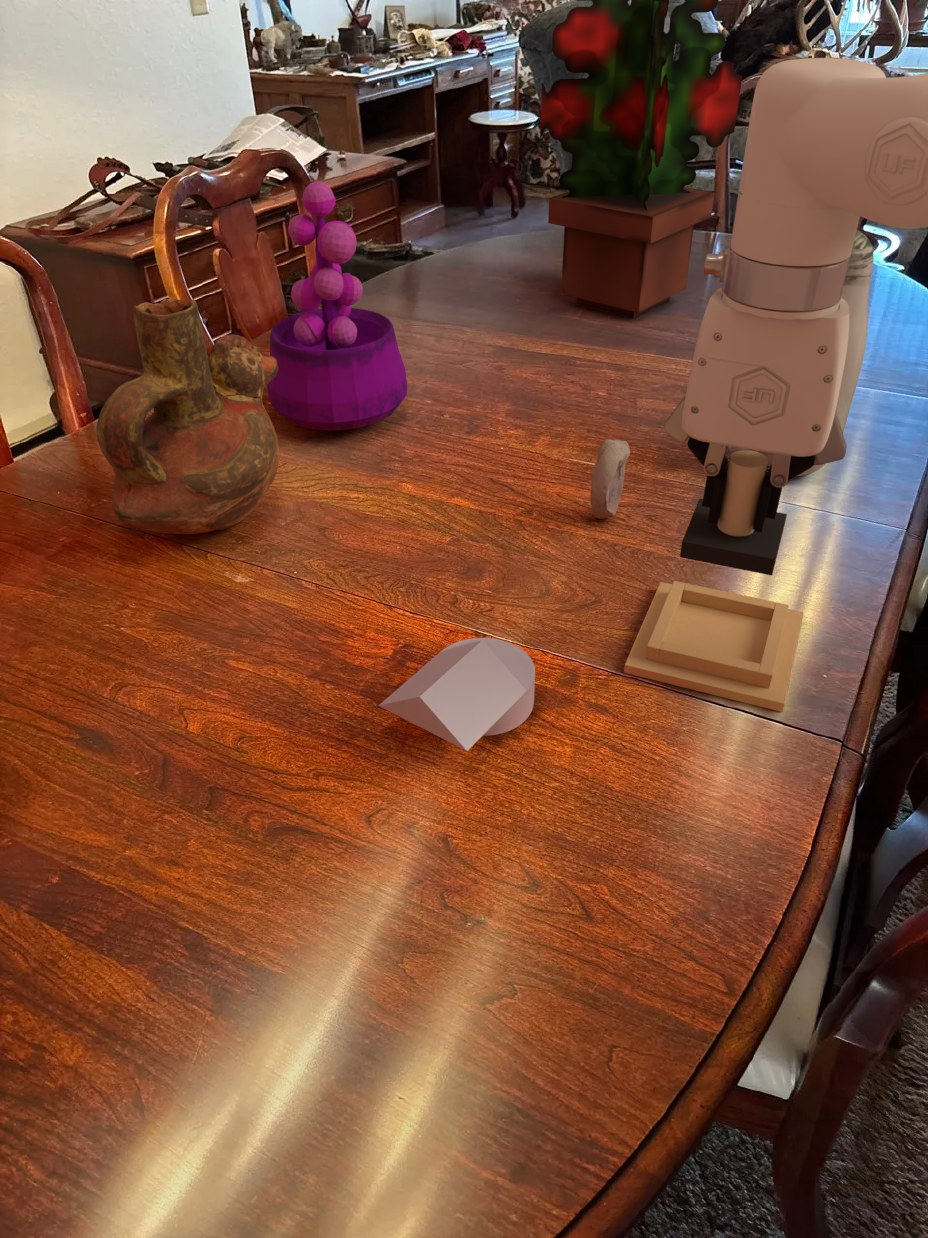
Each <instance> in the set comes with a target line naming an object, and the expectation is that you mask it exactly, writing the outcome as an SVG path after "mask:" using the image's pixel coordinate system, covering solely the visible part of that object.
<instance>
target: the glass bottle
mask: <svg viewBox="0 0 928 1238" xmlns="http://www.w3.org/2000/svg"><path fill="white" fill-rule="evenodd" d="M873 248H874V247H873V245H872V243H871V241H870V239H869V238H868V237H867V236H866V234H865V233H863V232H862V231H860V230H858V229H857V231H856V235H855V240H854V244H853V248H852V252H851V256H850V261H849V265H848V269H847V273H846V278H845V282H844V286H843V291H842V295H841V298H842V299H844V300H845V301H846V302H847V303H848V305H849V335H848V346H847V353H846V360H845V366H844V371H843V376H842V381H841V386H840V392H839V397H838V402H837V407H836V412H837V415H838V419H839V422H840V425H841V428H842V432H843V433H845V429H846V425H847V422H848V417H849V413H850V410H851V406H852V402H853V399H854V397H855V396H854V395H855V392H856V390H857V385H858V382H859V378H860V375H861V370H862V366H863V363H864V359H865V353H866V349H867V340H868V325H869V323H868V321H869V296H870V288H871V281H872V275H873V267H874V249H873ZM757 452H759V453H761V454H763V455H765V456H766V457H767V459H768V465H767V468H768V469H769V468H770V466H771V465H772V461H773V453H768V452H762V451H757ZM825 465H826V464H822V465H815V466H812V467H811V468H810V469H808V470H807V471H805V472H803V473H801V474H800V475H798V476H797V477H803V476H809V475H811V474H813V473H815V472H817V471H819V470H820V469H822V468H823V467H824V466H825Z"/></svg>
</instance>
